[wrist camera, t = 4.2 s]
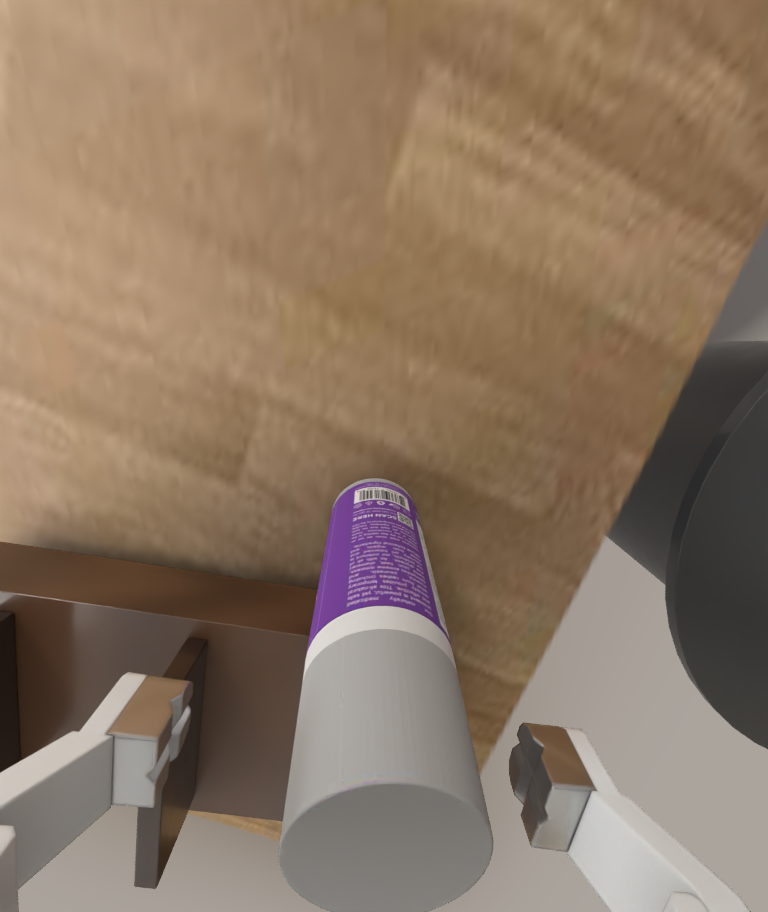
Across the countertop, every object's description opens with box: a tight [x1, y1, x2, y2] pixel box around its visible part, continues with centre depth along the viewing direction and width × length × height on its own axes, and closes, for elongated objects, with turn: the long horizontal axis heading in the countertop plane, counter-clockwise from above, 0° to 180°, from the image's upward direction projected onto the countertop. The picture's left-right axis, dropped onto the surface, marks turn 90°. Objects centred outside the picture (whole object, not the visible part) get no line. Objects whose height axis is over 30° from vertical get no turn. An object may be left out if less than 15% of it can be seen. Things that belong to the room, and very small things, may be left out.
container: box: [279, 478, 493, 912], centre depth 16 cm, size 5×5×15 cm
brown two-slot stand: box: [0, 542, 318, 889], centre depth 21 cm, size 22×12×8 cm, turn 80°
